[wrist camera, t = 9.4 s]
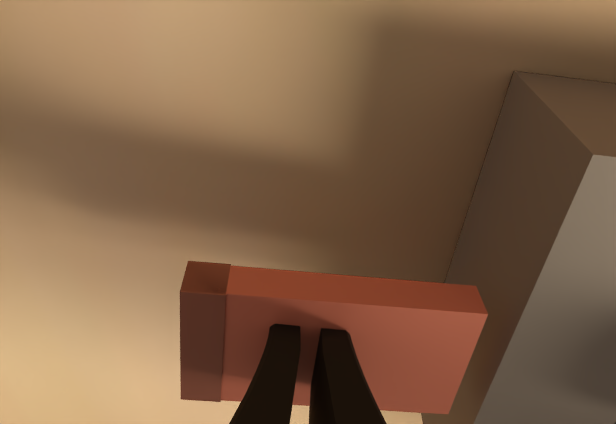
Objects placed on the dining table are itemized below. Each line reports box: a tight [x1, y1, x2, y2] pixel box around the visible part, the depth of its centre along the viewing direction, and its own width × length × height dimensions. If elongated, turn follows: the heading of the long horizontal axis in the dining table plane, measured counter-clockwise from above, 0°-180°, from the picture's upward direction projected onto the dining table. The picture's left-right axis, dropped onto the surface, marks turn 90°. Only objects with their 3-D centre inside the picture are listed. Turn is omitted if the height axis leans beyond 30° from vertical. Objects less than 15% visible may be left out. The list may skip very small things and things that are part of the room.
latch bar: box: [180, 261, 488, 414], centre depth 14 cm, size 7×4×1 cm, turn 83°
